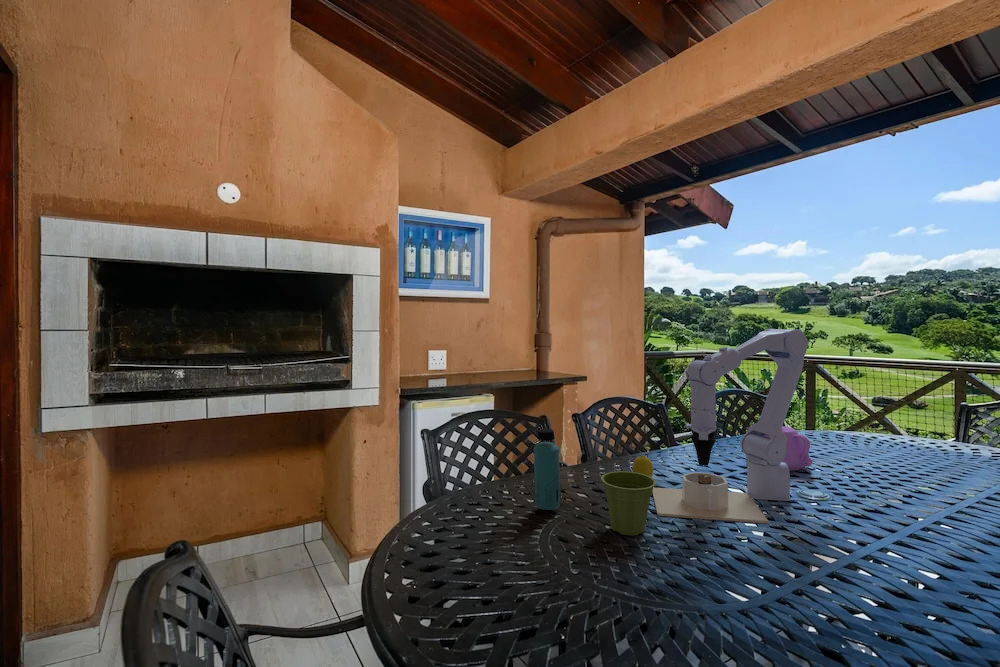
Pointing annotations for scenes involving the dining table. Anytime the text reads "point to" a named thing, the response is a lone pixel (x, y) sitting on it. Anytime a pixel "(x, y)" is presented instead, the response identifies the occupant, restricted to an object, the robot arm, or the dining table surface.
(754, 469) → the robot arm
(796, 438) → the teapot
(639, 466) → the lemon
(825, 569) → the dining table surface
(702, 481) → the lid
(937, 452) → the dining table surface
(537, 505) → the beverage bottle
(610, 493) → the plant pot
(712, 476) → the press stand
